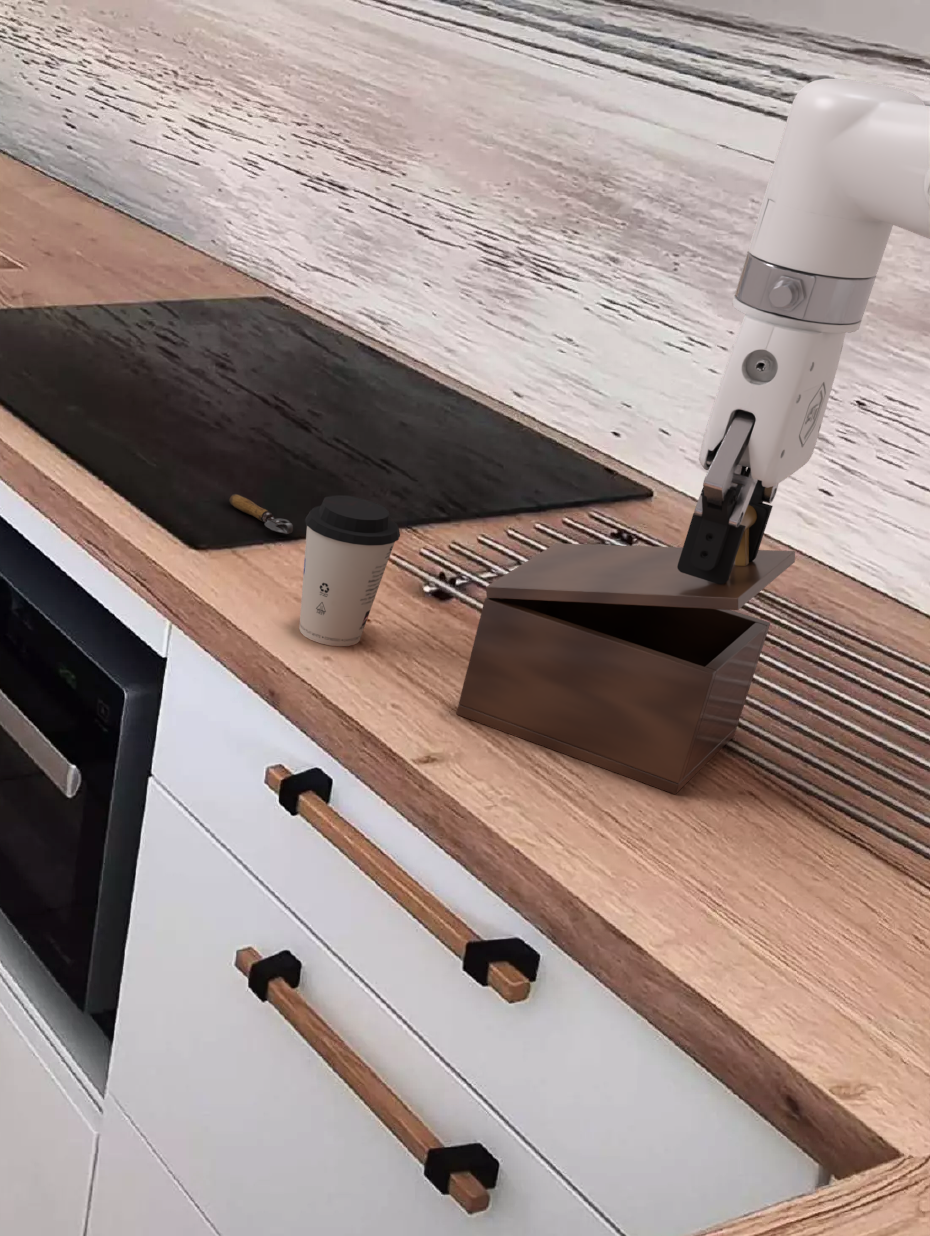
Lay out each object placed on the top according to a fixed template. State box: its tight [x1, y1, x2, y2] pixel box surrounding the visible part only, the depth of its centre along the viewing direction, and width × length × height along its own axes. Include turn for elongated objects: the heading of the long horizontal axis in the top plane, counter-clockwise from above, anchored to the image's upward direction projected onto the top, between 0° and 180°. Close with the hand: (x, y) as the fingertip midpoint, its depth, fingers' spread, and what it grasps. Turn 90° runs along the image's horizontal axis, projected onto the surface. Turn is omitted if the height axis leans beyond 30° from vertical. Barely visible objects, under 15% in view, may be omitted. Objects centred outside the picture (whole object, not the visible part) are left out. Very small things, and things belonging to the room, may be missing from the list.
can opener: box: [228, 493, 294, 535], centre depth 169 cm, size 9×2×1 cm, turn 20°
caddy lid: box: [485, 505, 796, 611], centre depth 133 cm, size 16×13×5 cm
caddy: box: [456, 597, 771, 795], centre depth 137 cm, size 16×13×9 cm
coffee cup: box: [298, 495, 401, 647], centre depth 147 cm, size 7×7×10 cm
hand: (716, 563), depth 130 cm, fingers closed on caddy lid, 5 cm apart
